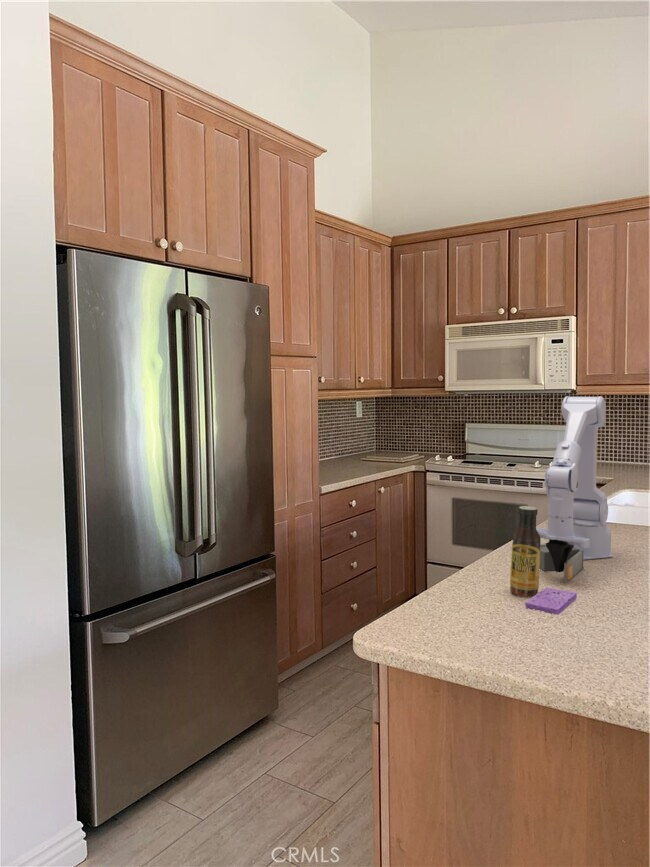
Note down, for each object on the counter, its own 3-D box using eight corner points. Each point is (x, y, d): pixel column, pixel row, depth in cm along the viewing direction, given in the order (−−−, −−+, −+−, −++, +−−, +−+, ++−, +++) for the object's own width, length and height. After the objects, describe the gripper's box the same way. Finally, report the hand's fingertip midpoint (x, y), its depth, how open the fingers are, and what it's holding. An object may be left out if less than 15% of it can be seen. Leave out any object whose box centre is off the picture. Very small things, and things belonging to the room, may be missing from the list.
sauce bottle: (507, 595, 148) (507, 508, 146) (513, 587, 153) (513, 503, 152) (537, 599, 145) (538, 511, 143) (542, 591, 150) (543, 505, 149)
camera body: (561, 560, 175) (561, 539, 174) (579, 568, 167) (579, 547, 167) (525, 563, 172) (525, 542, 172) (542, 572, 165) (542, 550, 164)
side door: (579, 567, 167) (579, 550, 167) (585, 568, 166) (585, 551, 166) (563, 581, 156) (563, 563, 156) (569, 582, 156) (569, 564, 155)
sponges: (577, 600, 146) (577, 592, 145) (557, 617, 136) (557, 608, 136) (545, 594, 150) (545, 586, 150) (524, 610, 140) (524, 601, 140)
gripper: (524, 513, 161) (524, 567, 162) (577, 523, 149) (575, 581, 150) (543, 509, 165) (542, 562, 166) (595, 519, 153) (594, 576, 154)
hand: (559, 571), depth 158 cm, fingers closed
